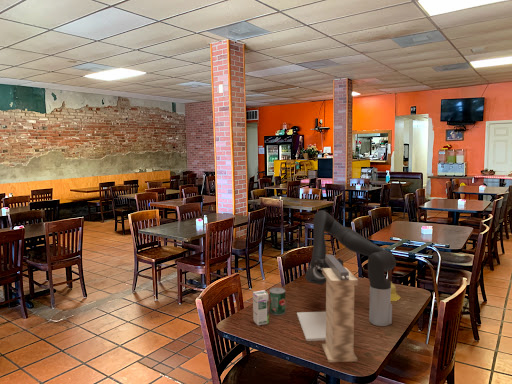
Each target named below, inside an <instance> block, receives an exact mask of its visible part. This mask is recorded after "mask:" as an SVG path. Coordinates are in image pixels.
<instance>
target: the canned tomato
mask: <svg viewBox="0 0 512 384" xmlns="http://www.w3.org/2000/svg"><path fill="white" fill-rule="evenodd" d="M286 312H287V311H286V289H285V288H282V287H272V288H270V289H269V314H272V315H275V316H281V315H284V314H286Z"/></svg>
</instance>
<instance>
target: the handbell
mask: <svg viewBox="0 0 512 384" xmlns="http://www.w3.org/2000/svg"><path fill="white" fill-rule="evenodd" d="M389 252H390V253H391V254H392V255H393V256H394V254H393V252H391V251H389ZM392 275H393V269H392V270H389V271H387V276H386V278H387V279H389V280H390V281H391V301H397V300H399V299H400V298H401V296H400V295H399V294H398V293H397V288H396V287H397V286H396V285H395V284H394V283H393V281H392V280H393V279H392V278H393V276H392Z"/></svg>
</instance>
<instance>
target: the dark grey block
mask: <svg viewBox="0 0 512 384" xmlns="http://www.w3.org/2000/svg"><path fill="white" fill-rule="evenodd" d="M337 259H338V258H336V257H335V256H334V255H333V254H326V258H325V262H326V263H327V264H328V265H329V267H330V268H331V269H332V270H333V272H334V273H335V274H336V275H337V277H338V278H339V279H340V280H349V272H348V271H347V270H346V269H345V268H346V267H344V265H343V266H342V264H341V263H340V262H339V261H338V260H337Z"/></svg>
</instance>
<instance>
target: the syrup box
mask: <svg viewBox="0 0 512 384" xmlns="http://www.w3.org/2000/svg"><path fill="white" fill-rule="evenodd" d="M252 312H253V317H252V318H253V322H254V323H255V325H256V326H261V325H268V324H270V295H269V293H268V291H266V290H265V289H263V290H257V291H252Z"/></svg>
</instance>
